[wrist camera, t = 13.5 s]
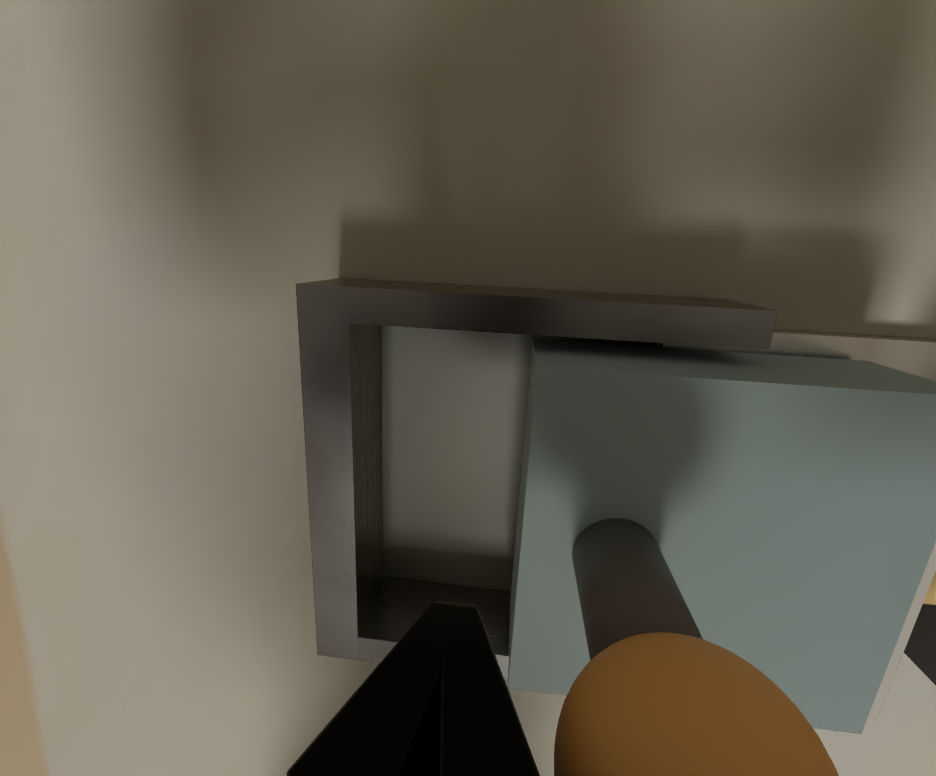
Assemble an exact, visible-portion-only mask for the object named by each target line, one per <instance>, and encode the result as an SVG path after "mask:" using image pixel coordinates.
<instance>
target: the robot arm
mask: <svg viewBox="0 0 936 776" xmlns="http://www.w3.org/2000/svg"><path fill="white" fill-rule="evenodd" d="M287 776H540V775H539V772H538V770H537V767H536V764H535V761H534V759H533V756H532V753H531V750H530V748H529V745H528V742H527V740H526V737H525V734H524V731H523V729H522V726H521V723H520V721H519V718H518V715H517V712H516V710H515V707H514V704H513V702H512V699H511V696H510V693H509V691H508V688H507V685H506V683H505V680H504V677H503V674H502V672H501V669H500V666H499V664H498V661H497V658H496V655H495V653H494V650H493V647H492V645H491V642H490V639H489V636H488V634H487V631H486V628H485V626H484V623H483V620H482V617H481V615H480V612H479V609H478V608H477V607H476V606H475V605H468V604H459V603H456V604H455V603H449V602H440V601H434V602H432V603H431V604H430V605H429V606H428V608H427V609H426V610H425V611H424V612H423V613H422V615H421V616H420V617H419V618H418V619H417V620H416V622H415V623H414V624H413V625H412V626H411V627H410V629H409V630H408V631H407V632H406V633H405V634H404V636H403V637H402V638H401V639H400V640H399V642H398V643H397V644H396V645H395V646H394V647H393V649H392V650H391V651H390V652H389V653H388V654H387V656H386V657H385V658H384V659H383V660H382V661H381V663H380V664H379V665H378V666H377V667H376V668H375V670H374V671H373V672H372V673H371V674H370V675H369V677H368V678H367V679H366V680H365V681H364V682H363V684H362V685H361V686H360V687H359V688H358V689H357V691H356V692H355V693H354V694H353V695H352V696H351V698H350V699H349V700H348V701H347V702H346V703H345V705H344V706H343V707H342V708H341V709H340V710H339V712H338V713H337V714H336V715H335V716H334V717H333V719H332V720H331V721H330V722H329V723H328V724H327V726H326V727H325V728H324V729H323V730H322V731H321V733H320V734H319V735H318V736H317V737H316V738H315V740H314V741H313V742H312V743H311V744H310V745H309V747H308V748H307V749H306V750H305V751H304V752H303V754H302V755H301V756H300V757H299V758H298V759H297V761H296V762H295V763H294V764H293V765H292V766H291V768H290V769H289V770H288V771H287Z"/></svg>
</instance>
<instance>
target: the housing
mask: <svg viewBox="0 0 936 776" xmlns="http://www.w3.org/2000/svg"><path fill="white" fill-rule="evenodd" d="M904 653H905V654H906V655H907V656H908V657H909V658H910V659H911V660H912V661H913V662H914V663H915V664H916V665H917V666H918V667H919V668H920V670H921V671H922V672H923V673H924V674H925V675H926V676H927V677H928V678H929V679H930V680H931V681H932V682H933V683H934V684H935V685H936V572H935V574H934V577H933V579H932V582H931V584H930V587H929V589H928V592H927V594H926V597H925V599H924V602H923V604H922V607H921V610H920V612H919V615H918V617H917V620H916V622H915V625H914V627H913V630H912V632H911V635H910V637H909V640H908V642H907V645H906V647H905V650H904Z"/></svg>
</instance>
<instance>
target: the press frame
mask: <svg viewBox="0 0 936 776" xmlns="http://www.w3.org/2000/svg"><path fill="white" fill-rule="evenodd" d="M296 296H297V313H298V330H299V347H300V364H301V381H302V398H303V415H304V432H305V449H306V466H307V483H308V500H309V517H310V534H311V551H312V568H313V585H314V602H315V619H316V636H317V653H318V655H323V656H331V657H338V658H346V659H354V660H362V661H369V662H377V663H381V661H382V660H383V659H384V658H385V657H386V656H387V654H388V653H389V652H390V651H391V650H392V649H393V647H394V646H395V645H396V644H397V643H398V642H399V640H400V639H401V638H402V637H403V636H404V634H405V633H406V632H407V631H408V630H409V629H410V627H411V626H412V625H413V624H414V623H415V622H416V620H417V619H418V618H419V617H420V616H421V615H422V613H423V612H424V611H425V610H426V609H427V608H428V606H429V605H430V604H431V603H432V602H434V601H440V602H449V603H455V604H456V603H459V604H468V605H475V606H476V607H477V608H478V609H479V612H480V615H481V617H482V620H483V623H484V626H485V628H486V631H487V634H488V636H489V639H490V642H491V645H492V647H493V650H494V653H495V655H496V658H497V661H498V664H499V666H500V669H501V672H502V674H503V677H504V679H508V666H509V625H510V595H511V592H508V591H499V590H490V589H482V588H473V587H464V586H455V585H446V584H437V583H428V582H419V581H410V580H401V579H393V578H384V577H383V524H382V393H381V325H386V326H402V327H418V328H434V329H450V330H465V331H481V332H497V333H513V334H529V335H544V336H560V337H576V338H592V339H608V340H624V341H639V342H655V343H657V347H660V348H675V349H691V350H706V351H722V352H738V353H753V354H769V355H784V356H800V357H816V358H831V359H847V360H862V361H871V362H874V363H877V364H880V365H884V366H887V367H890V368H893V369H897V370H900V371H903V372H907V373H910V374H913V375H916V376H920V377H923V378H926V379H930V380H933V381H936V340H933V339H916V338H899V337H883V336H866V335H849V334H832V333H815V332H799V331H782V330H774V327H775V323H776V319H777V315H778V311H776V310H771V309H767V308H762V307H758V306H753V305H748V304H744V303H739V302H735V301H730V300H726V299H708V298H689V297H671V296H653V295H634V294H616V293H598V292H579V291H561V290H543V289H524V288H506V287H488V286H469V285H451V284H433V283H414V282H396V281H378V280H359V279H341V278H337V279H329V280H322V281H314V282H307V283H299V284H296Z"/></svg>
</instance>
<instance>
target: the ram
mask: <svg viewBox="0 0 936 776" xmlns="http://www.w3.org/2000/svg"><path fill="white" fill-rule="evenodd" d="M935 572H936V381H933V380H930V379H926V378H923V377H920V376H916V375H913V374H910V373H907V372H903V371H900V370H897V369H893V368H890V367H887V366H884V365H880V364H877V363H874V362H871V361H862V360H847V359H831V358H816V357H800V356H784V355H769V354H753V353H738V352H722V351H706V350H691V349H675V348H660V347H644V346H628V345H613V344H597V343H582V342H566V341H550V340H535V339H533V342H532V354H531V365H530V377H529V388H528V400H527V411H526V423H525V434H524V446H523V457H522V469H521V480H520V492H519V503H518V515H517V526H516V538H515V549H514V561H513V572H512V583H511V595H510V625H509V666H508V688H512V689H520V690H528V691H535V692H543V693H551V694H558V695H566V699H565V701H564V704H563V706H562V710H561V713H560V717H559V721H558V725H557V730H556V738H555V748H554V776H839V775H838V773H837V770H836V768H835V766H834V764H833V762H832V760H831V758H830V757H829V755H828V753H827V751H826V749H825V747H824V746H823V744H822V742H821V740H820V738H819V736H818V735H817V733H816V732H815V731H814V729H813V728H818V729H826V730H833V731H841V732H849V733H856V734H862V731H863V728H864V726H865V724H871V725H875V723H876V721H877V718H878V716H879V713H880V711H881V708H882V706H883V703H884V700H885V698H886V695H887V693H888V690H889V688H890V685H891V683H892V680H893V678H894V675H895V673H896V670H897V668H898V665H899V663H900V660H901V658H902V655H903V652H904V650H905V647H906V645H907V642H908V640H909V637H910V635H911V632H912V630H913V627H914V625H915V622H916V620H917V617H918V615H919V612H920V610H921V607H922V604H923V602H924V599H925V597H926V594H927V592H928V589H929V587H930V584H931V582H932V579H933V577H934V574H935Z"/></svg>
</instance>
